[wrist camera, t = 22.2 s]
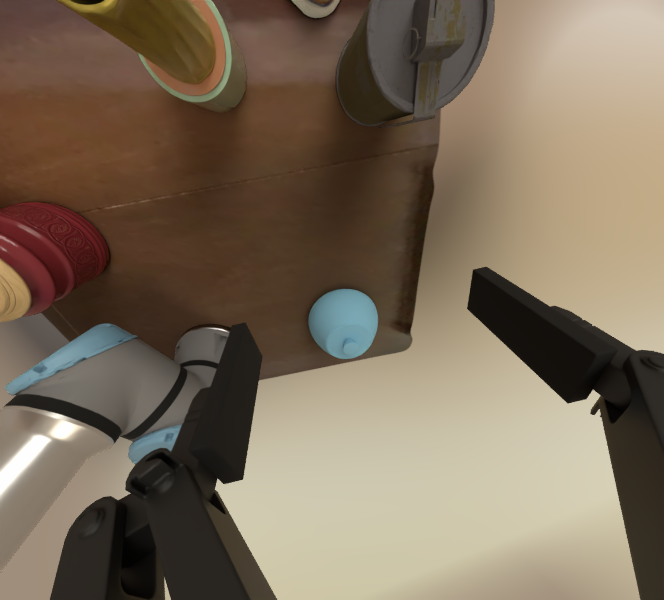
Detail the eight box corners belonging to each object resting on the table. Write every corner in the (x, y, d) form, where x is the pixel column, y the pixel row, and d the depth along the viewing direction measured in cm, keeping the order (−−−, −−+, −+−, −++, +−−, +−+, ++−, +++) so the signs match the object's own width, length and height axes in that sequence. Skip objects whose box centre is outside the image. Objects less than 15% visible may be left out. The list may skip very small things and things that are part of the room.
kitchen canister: (62, 186, 36) (-104, 214, 21) (130, 262, 43) (42, 323, 28) (-12, 218, 37) (-221, 267, 22) (66, 287, 44) (-52, 359, 29)
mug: (193, 119, 33) (161, 110, 26) (138, -15, 27) (73, -82, 19) (256, 104, 33) (244, 91, 26) (217, -33, 27) (185, -107, 19)
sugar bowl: (310, 282, 49) (314, 315, 40) (380, 286, 52) (399, 317, 42) (305, 338, 57) (307, 378, 47) (366, 339, 60) (380, 376, 50)
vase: (139, 56, 23) (-25, -40, 11) (152, -28, 21) (-42, -263, 9) (206, 98, 26) (127, 55, 14) (224, 27, 23) (147, -103, 11)
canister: (332, 29, 31) (377, -112, 14) (412, 23, 31) (547, -119, 14) (338, 133, 36) (375, 122, 20) (405, 126, 37) (496, 110, 20)
